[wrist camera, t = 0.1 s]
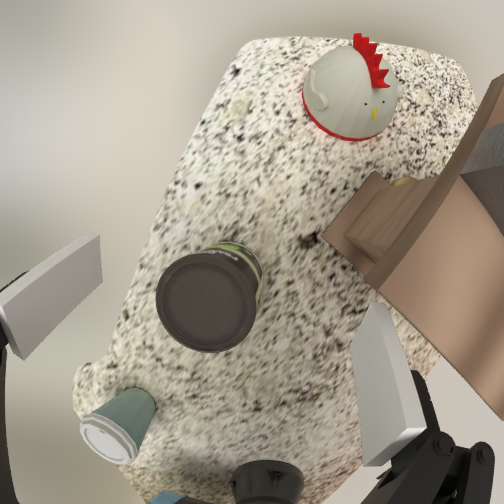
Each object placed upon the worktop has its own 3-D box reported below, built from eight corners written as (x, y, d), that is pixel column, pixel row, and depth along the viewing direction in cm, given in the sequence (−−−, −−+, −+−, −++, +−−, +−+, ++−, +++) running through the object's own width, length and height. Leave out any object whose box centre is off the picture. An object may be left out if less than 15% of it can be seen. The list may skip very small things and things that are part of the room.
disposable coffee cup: (160, 428, 46) (131, 478, 31) (113, 405, 47) (76, 448, 32) (169, 391, 45) (135, 445, 30) (117, 367, 45) (72, 409, 30)
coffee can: (189, 244, 41) (148, 257, 27) (260, 238, 40) (251, 249, 26) (198, 312, 42) (164, 352, 28) (266, 309, 41) (260, 352, 27)
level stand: (442, 216, 37) (601, 226, 7) (378, 302, 40) (502, 421, 10) (376, 149, 37) (514, 55, 7) (305, 237, 40) (377, 289, 10)
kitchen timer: (318, 149, 38) (338, 112, 23) (290, 69, 37) (293, 10, 22) (401, 134, 36) (451, 101, 22) (371, 59, 35) (400, 7, 20)
